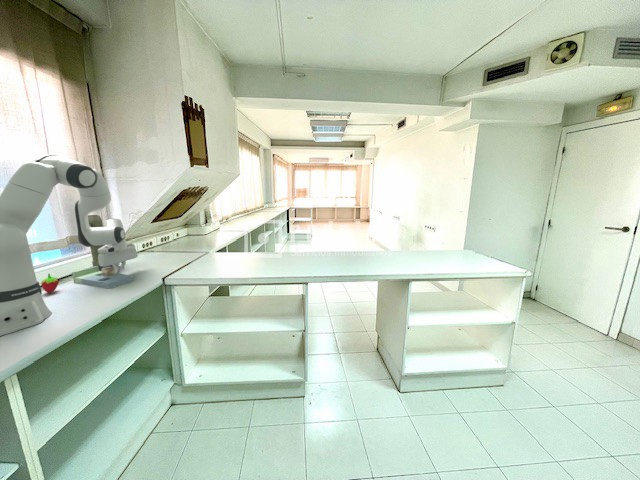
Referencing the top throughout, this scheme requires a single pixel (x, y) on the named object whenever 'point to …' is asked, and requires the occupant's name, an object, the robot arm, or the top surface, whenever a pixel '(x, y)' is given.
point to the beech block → (108, 271)
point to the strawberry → (49, 284)
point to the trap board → (99, 278)
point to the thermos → (96, 222)
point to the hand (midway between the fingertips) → (121, 269)
